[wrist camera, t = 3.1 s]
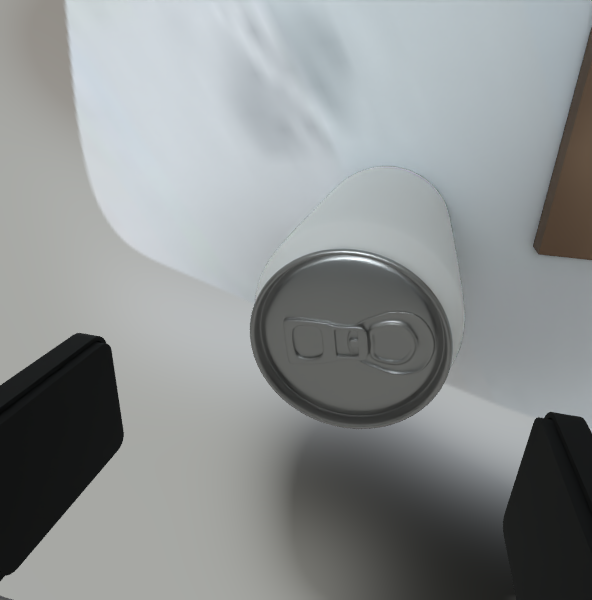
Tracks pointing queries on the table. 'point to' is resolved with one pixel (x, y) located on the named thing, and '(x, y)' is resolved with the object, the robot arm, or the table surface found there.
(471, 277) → the table surface
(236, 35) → the table surface
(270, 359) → the can
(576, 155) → the holder
